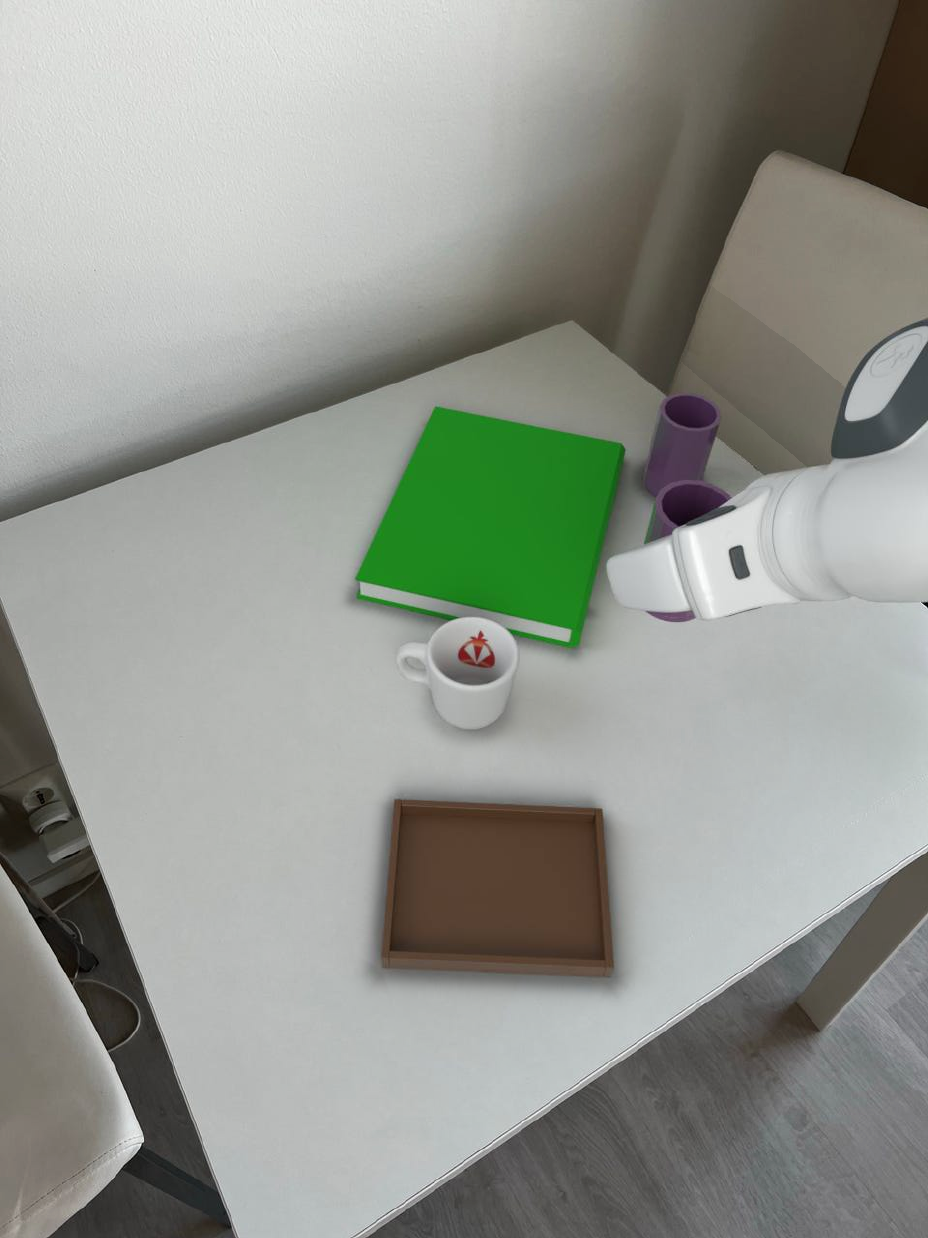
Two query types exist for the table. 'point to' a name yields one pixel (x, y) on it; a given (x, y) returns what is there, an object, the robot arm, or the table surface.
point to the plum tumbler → (681, 519)
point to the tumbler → (681, 440)
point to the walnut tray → (497, 889)
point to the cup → (465, 670)
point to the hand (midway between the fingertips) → (679, 544)
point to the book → (496, 526)
